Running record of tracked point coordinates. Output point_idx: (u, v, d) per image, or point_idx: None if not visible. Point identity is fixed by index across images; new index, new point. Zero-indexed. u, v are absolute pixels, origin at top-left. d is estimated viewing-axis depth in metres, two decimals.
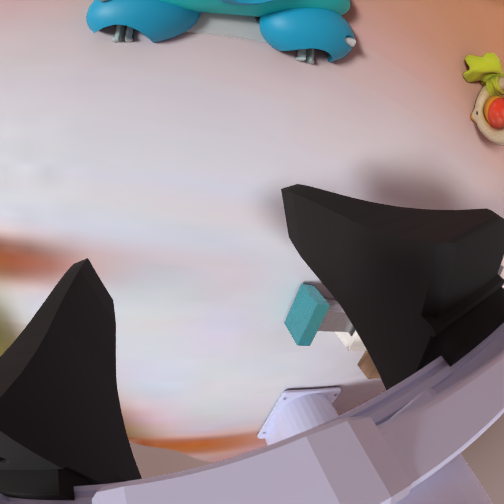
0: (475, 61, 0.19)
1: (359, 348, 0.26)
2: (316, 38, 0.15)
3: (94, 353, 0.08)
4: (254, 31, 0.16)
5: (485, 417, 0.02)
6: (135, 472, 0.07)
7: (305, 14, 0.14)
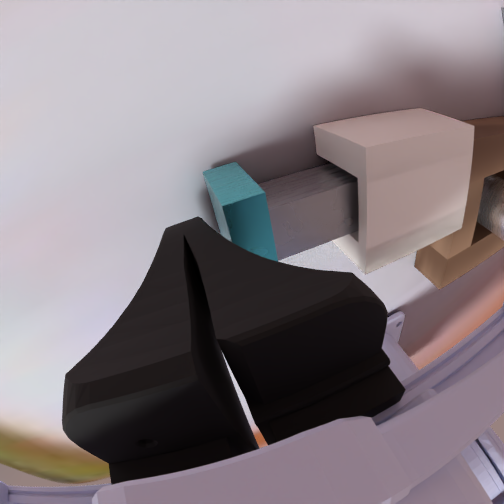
0: None
1: (389, 258, 0.11)
2: None
3: (206, 315, 0.08)
4: None
5: (485, 417, 0.02)
6: None
7: None
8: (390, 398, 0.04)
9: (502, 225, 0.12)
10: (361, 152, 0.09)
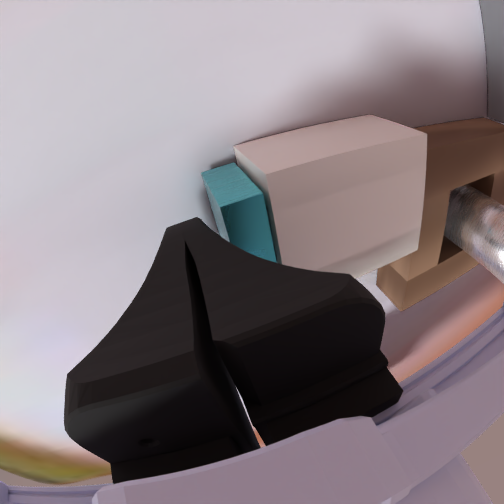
0: None
1: None
2: None
3: (207, 315, 0.08)
4: None
5: (485, 417, 0.02)
6: None
7: None
8: (389, 399, 0.04)
9: (471, 243, 0.12)
10: (264, 179, 0.08)
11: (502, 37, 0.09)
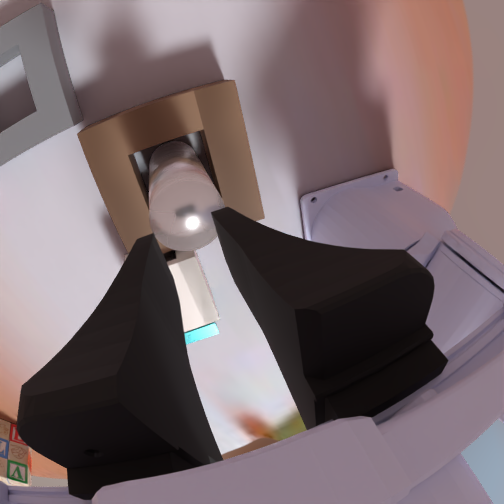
0: None
1: (212, 309, 0.22)
2: None
3: (171, 328, 0.08)
4: None
5: (485, 417, 0.02)
6: None
7: None
8: (436, 369, 0.04)
9: None
10: None
11: None
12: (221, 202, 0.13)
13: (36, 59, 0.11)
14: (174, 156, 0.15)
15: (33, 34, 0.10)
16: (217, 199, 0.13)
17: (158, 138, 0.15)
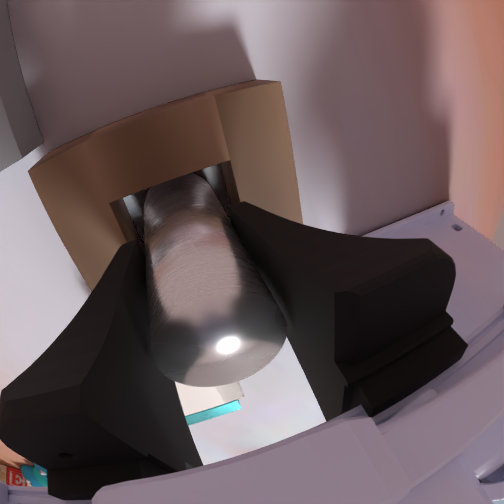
0: None
1: (235, 388, 0.16)
2: None
3: None
4: None
5: (485, 417, 0.02)
6: (196, 459, 0.07)
7: None
8: (457, 353, 0.04)
9: None
10: None
11: None
12: (281, 320, 0.07)
13: None
14: (185, 210, 0.09)
15: None
16: (275, 317, 0.07)
17: (156, 175, 0.10)
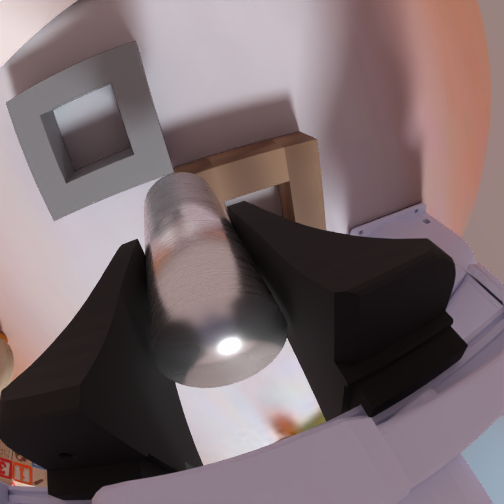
0: None
1: None
2: None
3: None
4: None
5: (485, 417, 0.02)
6: (197, 459, 0.07)
7: None
8: (458, 353, 0.04)
9: None
10: None
11: None
12: (281, 321, 0.07)
13: (133, 102, 0.14)
14: (185, 211, 0.09)
15: (128, 74, 0.13)
16: (276, 317, 0.07)
17: (251, 188, 0.19)
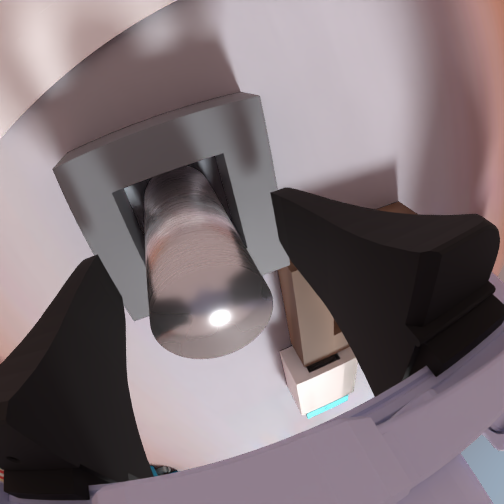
0: None
1: (351, 386, 0.24)
2: None
3: (105, 349, 0.08)
4: None
5: (485, 417, 0.02)
6: (148, 470, 0.07)
7: None
8: (501, 316, 0.05)
9: None
10: (303, 412, 0.24)
11: None
12: (267, 293, 0.08)
13: (253, 183, 0.12)
14: (182, 198, 0.10)
15: (248, 144, 0.11)
16: (261, 289, 0.08)
17: None
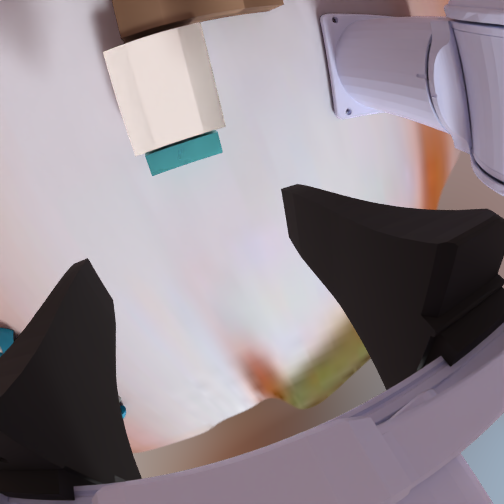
0: None
1: (216, 106, 0.15)
2: None
3: (94, 353, 0.08)
4: None
5: (485, 417, 0.02)
6: (136, 472, 0.07)
7: None
8: None
9: None
10: (139, 154, 0.15)
11: None
12: None
13: None
14: None
15: None
16: None
17: None
